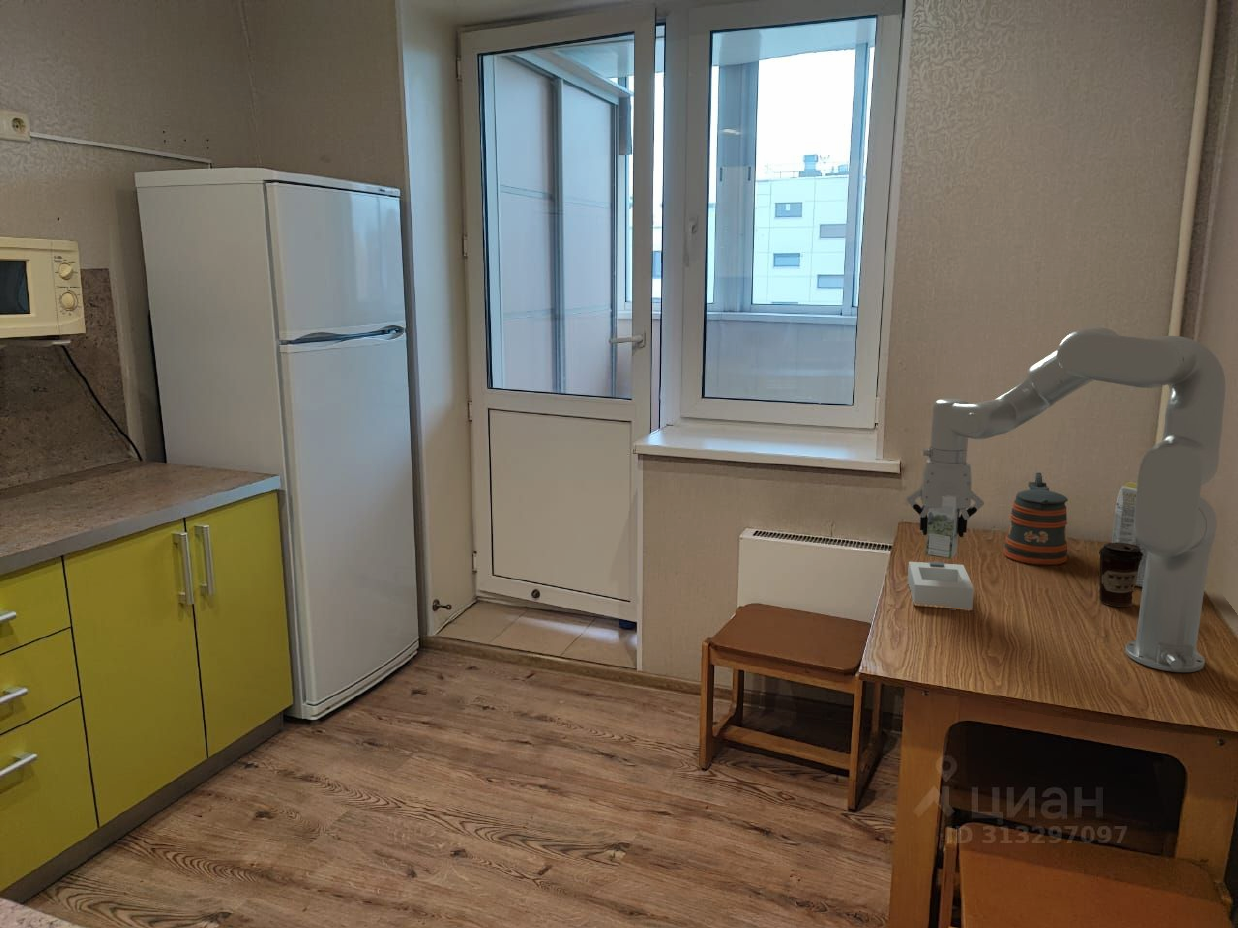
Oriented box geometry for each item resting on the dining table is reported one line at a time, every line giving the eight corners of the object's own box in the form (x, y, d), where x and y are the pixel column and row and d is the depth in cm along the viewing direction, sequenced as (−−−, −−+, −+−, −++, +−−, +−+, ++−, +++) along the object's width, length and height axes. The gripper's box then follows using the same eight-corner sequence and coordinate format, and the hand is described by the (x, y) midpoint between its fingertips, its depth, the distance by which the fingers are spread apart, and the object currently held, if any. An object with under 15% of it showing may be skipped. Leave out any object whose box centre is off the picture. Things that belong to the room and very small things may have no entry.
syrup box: (957, 552, 195) (962, 489, 192) (951, 559, 190) (956, 495, 187) (930, 548, 198) (935, 486, 195) (924, 555, 193) (929, 492, 190)
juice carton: (1159, 581, 203) (1171, 481, 198) (1150, 590, 197) (1163, 487, 192) (1114, 572, 209) (1125, 475, 204) (1105, 580, 204) (1116, 481, 199)
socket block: (972, 610, 187) (974, 585, 186) (913, 606, 189) (915, 582, 188) (961, 585, 202) (963, 562, 201) (907, 581, 205) (908, 559, 204)
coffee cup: (1144, 611, 185) (1151, 553, 182) (1101, 609, 187) (1108, 551, 184) (1129, 597, 193) (1135, 541, 191) (1088, 594, 195) (1094, 539, 192)
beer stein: (997, 541, 235) (1003, 469, 230) (1056, 545, 231) (1064, 472, 226) (1007, 563, 217) (1014, 485, 213) (1072, 568, 213) (1080, 489, 209)
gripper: (907, 457, 187) (902, 537, 191) (994, 461, 183) (987, 541, 187) (904, 451, 195) (900, 527, 198) (988, 454, 191) (981, 532, 194)
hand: (942, 533), depth 193 cm, fingers closed on syrup box, 7 cm apart
